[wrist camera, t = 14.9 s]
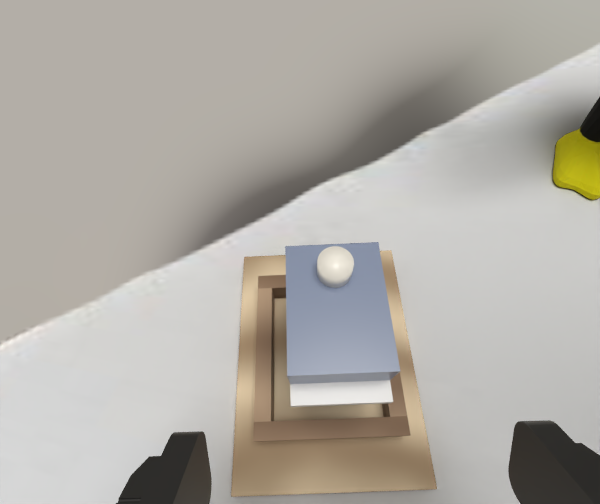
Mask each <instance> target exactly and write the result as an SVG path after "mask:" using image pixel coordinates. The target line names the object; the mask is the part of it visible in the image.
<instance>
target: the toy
mask: <svg viewBox="0 0 600 504" xmlns="http://www.w3.org/2000/svg"><path fill="white" fill-rule="evenodd" d="M553 180H554V182H555V184H556V185H557V186H559V187H562V188H568V189H572V190H575V191H577V192H579V193H580V194H582V195H583V196H585V197H587V198H589V199H592V200H594V199H598V198H600V97H599V99H598V100H597V102H596V103H595V105H594V106H593V108H592V109H591V111H590V112H589V114H588V115H587V117H586V119H585V120H584V122H583V124H582V125H581V127H580V129H578V130H575V131H573V132H570V133H568V134H566V135H564V136H563V137H562V138H560V139H559V140H558V141H557V143H556V146H555V159H554V168H553Z"/></svg>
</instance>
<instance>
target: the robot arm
mask: <svg viewBox="0 0 600 504" xmlns="http://www.w3.org/2000/svg"><path fill="white" fill-rule="evenodd" d="M509 478H510V482H511V486H512V488H513V491H514V493H515V495H516V497H517V499H518V500H519V502H520V504H600V455H598V454H597V453H595V452H594V451H592V450H591V449H589V448H588V447H586V446H585V445H583V444H582V443H575V442H574V441H573V440H572V439H571V438H570V437H569V436H568V435H567V434H566V433H565V432H564V431H563V430H562V429H561V428H560V427H559V426H558V425H557V424H556V423H554V422H552V421H549V420H548V421H520V422H517V423H516V425H515V428H514V434H513V441H512V448H511V455H510V462H509ZM210 496H211V472H210V465H209V458H208V452H207V445H206V438H205V434H204V432H175V433H173V434H172V435H171V436H170V438H169V440H168V442H167V445H166V447H165V449H164V451H163V453H162V455H161V456H153V457H149V458H148V459H147V460H146V461H145V462H144V463H143V464H142V465H141V466H140V467H139V468H138V469H137V470H136V471H135V472H134V473H133V474H132V475H131V477H130V478H129V480H128V482H127V484H126V486H125V488H124V490H123V491H122V493H121V495H120V497H119V501H118V503H116V504H209V502H210Z"/></svg>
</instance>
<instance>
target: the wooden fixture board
mask: <svg viewBox="0 0 600 504" xmlns="http://www.w3.org/2000/svg"><path fill="white" fill-rule="evenodd" d="M380 255H381V261H382V267H383V273H384V279H385V284H386V290H387V296H388V302H389V308H390V313H391V319H392V325H393V331H394V337H395V342H396V348H397V354H398V360H399V366H400V372H399V373H398V374H397V375H396V376H394V377H393V378H392V379H391V380H390V384H391V390H392V396H393V402H392V403H387V404H361V405H336V406H310V407H291V400H290V382H289V379H288V377H287V323H286V255H278V256H255V257H244V272H243V290H242V308H241V326H240V344H239V362H238V380H237V398H236V417H235V435H234V453H233V471H232V489H231V497H236V496H263V495H291V494H318V493H346V492H373V491H401V490H428V489H437V486H436V481H435V475H434V470H433V465H432V460H431V454H430V449H429V444H428V439H427V434H426V428H425V423H424V418H423V413H422V408H421V402H420V397H419V392H418V387H417V382H416V376H415V371H414V366H413V361H412V356H411V350H410V345H409V340H408V335H407V330H406V324H405V319H404V314H403V309H402V304H401V298H400V293H399V288H398V283H397V278H396V272H395V267H394V262H393V257H392V252H391V250H390V251H380Z"/></svg>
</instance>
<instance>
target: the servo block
mask: <svg viewBox="0 0 600 504" xmlns="http://www.w3.org/2000/svg"><path fill="white" fill-rule="evenodd" d="M285 248H286V323H287V377H288V379H289V382H290V400H291V407H310V406H336V405H361V404H387V403H392V402H393V396H392V390H391V384H390V380H391V379H392V378H393V377H394V376H396V375H397V374H398V373H399V372H400V366H399V360H398V354H397V348H396V342H395V337H394V331H393V325H392V319H391V313H390V308H389V302H388V296H387V290H386V284H385V279H384V273H383V267H382V261H381V255H380V250H379V244H378V242H372V243H350V244H327V245H305V246H285Z"/></svg>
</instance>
